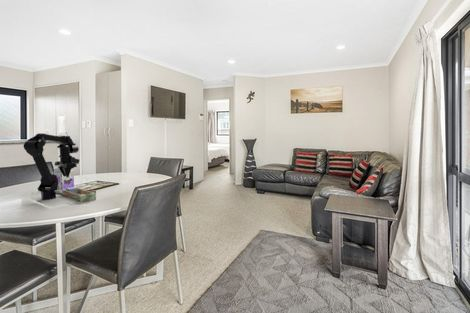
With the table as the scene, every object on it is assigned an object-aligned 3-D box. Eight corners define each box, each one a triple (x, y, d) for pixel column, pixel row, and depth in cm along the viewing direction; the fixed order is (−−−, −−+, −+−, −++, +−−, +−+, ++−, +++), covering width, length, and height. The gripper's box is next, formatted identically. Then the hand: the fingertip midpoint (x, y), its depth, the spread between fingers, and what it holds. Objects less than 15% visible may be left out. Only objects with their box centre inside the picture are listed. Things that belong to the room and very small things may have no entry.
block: (69, 195, 167) (69, 189, 167) (66, 194, 170) (65, 188, 169) (77, 193, 171) (77, 187, 171) (74, 192, 174) (74, 186, 173)
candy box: (62, 191, 183) (60, 168, 181) (54, 190, 183) (52, 168, 181) (74, 186, 197) (73, 165, 195) (67, 186, 197) (65, 165, 195)
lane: (81, 202, 155) (80, 195, 154) (62, 196, 168) (62, 190, 168) (104, 197, 167) (104, 191, 166) (85, 192, 181) (85, 186, 180)
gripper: (84, 154, 173) (85, 176, 175) (71, 152, 184) (72, 173, 185) (66, 155, 164) (67, 179, 166) (53, 153, 175) (55, 175, 176)
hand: (66, 176), depth 173 cm, fingers open, 4 cm apart
